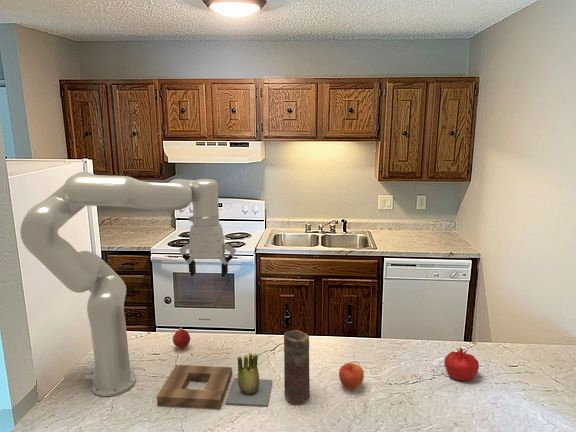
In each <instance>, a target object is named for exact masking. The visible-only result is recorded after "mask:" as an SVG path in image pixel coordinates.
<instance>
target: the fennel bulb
mask: <svg viewBox="0 0 576 432" xmlns="http://www.w3.org/2000/svg"><path fill="white" fill-rule="evenodd" d="M258 356H259V355H258V353H252V352H249V353H248V354H244V356H243V358H242V355H239V356H237V358H236V359H237V378H238V385H239V388H240V390H241V391H242V392H244V393H246V394H253V393H255V392H256V391H257V389H258V387H259V379H260V373H259V368H258Z"/></svg>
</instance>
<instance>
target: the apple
mask: <svg viewBox="0 0 576 432" xmlns="http://www.w3.org/2000/svg"><path fill="white" fill-rule="evenodd" d="M338 376H339V382H340V383H341V385H342V386H343V387H344V388H345V389H347V390H351V391H354V390H356V389H358V388H359V387H360V386H361V385H362V383H363V381H364V377H365V375H364V370H363V368H362V367H361V366H360V365H359V364H357V363H353V362H348V363H344V364H343V365H342V366H341V367H340V368H339V371H338Z"/></svg>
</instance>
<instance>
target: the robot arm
mask: <svg viewBox="0 0 576 432" xmlns="http://www.w3.org/2000/svg"><path fill="white" fill-rule="evenodd" d="M191 203H192V216H188V221H189V222H192V225H191V226H190V228H189V241H188V242H189V243H187V244H186V245H184V246H182V247H180V248H179V249H178V251H179V253H180V254H181V256H182V259H184V260H185V261H186V263H187V264H188V272H189V273H190V276H191V277H194V276H195V274H196V272H197V268H196V267H197V266H196V260H219V261H220V262H221V265H220V267H221V269H220V270H221V277H222V278H225V277H226V275H228V271H229V270H228V269H229V268H228V263H229V262H230V261H231V260H232V259H233V258H234V256H235V254H236V252H237V248H235V247H233V246H231V245H229V244H227V243H225V236H224V230H223V227H222V224H220V212H219V210H220V209H219V186H218V183H217V181H216V180H215V179H210V178H209V179H208V178H201V179H194V180H193V179H184V178H175V179H171V180H170V181H169V182H151V181H149V182H148V181H144V180H139V179H136V178H134V177H131V176H127V175H126V176H125V175H101V174H100V175H99V174H94V173H92V172H89V171H80V172H77V173H75V174H74V175H71V176H70V177H68V178H67V179H66V180H65V182H64V184H63V185H62V186H61V187H59V188H58V189H56V190H55V191H54V192H53V193H52V194H50V195H49V196H48V197H46V198H45V199H44V200H42V201H40V202H39V203H37V204H35V205H34V206H33V207H31V208H30V209H29V210H28V212H27V213H26V214H25V215H24V217H23V220H22V222H21V225H20V230H19V231H20V238H21V241H22V244H23V245H24V247H25V248H26V250H28V252H29V253H31V255H32V256H33V257H34V258H36V259H37V260H38V261H39V262H40V263H41V264H42V265H43V266H44V267H45V268H46V270H48V271H49V273H51V274H52V275H53V276H54V277H55V278H56V279H57V280H59V281H60V282H61V284H62V285H64V286H65V287H66V288H67V289H68V290H69V291H71V292H73V293H78V294H81V293H85V292H88V291H89V293H90V295H89V298H88V300H87V304H86V305H87V307H86V313H87V317H88V318H87V319H88V322H89V326H90V334H91V342H92V348H93V350H92V351H93V358H94V368H95V369H94V368H86V369H85V370H84V379H85V380H91V381H92V382H91V391H92V392H93V394H95V395H97V396H99V397H113V396H117V395H121V394H123V393H125V392H127V391H129V390H130V389H131V388H133V386H134V385H135V384H136V383H137V375H136V373H135V372H134V371H132V370H131V367H130V355H129V344H128V334H127V325H126V324H127V323H126V317H125V307H124V306H125V300H126V296H127V285H126V283H125V282H124V280H123V279H122V277H120V275H118V273H117V272H115V270H113V268H112V267H111V266H110V265H109V264H108V263H107V262H106V261H105V260H104V259H102V258H101V257H100V256H99V255H98V254H96V253H95V252H91V251H90V250H89V251H88V250H82V251H81V250H80V251H78V250H76V248H75V247H74V246H73V245H72V244H71V243H70V242H68V241H67V240H66V239H64V237H61V236H60V234H59V233H58V231H59V230H60V228H62V227H63V226H65V224H66V223H68V221H70V220H71V219H72V218H73V217H74V216H75V215H77V214H78V213H79V212H80V211H82V210H83V209H84V208H85V207H86V206H87V207H89V206H90V207H97V206H98V207H127V208H133V209H143V210H151V211H152V210H153V211H179V210H180V211H181V210H184V209H186V208H188V207H189V206H190V205H191ZM187 250H188V253H187ZM226 251H227V252H229V255H228V256H226V254H225V253H226Z"/></svg>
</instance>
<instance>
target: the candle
mask: <svg viewBox="0 0 576 432" xmlns="http://www.w3.org/2000/svg"><path fill="white" fill-rule="evenodd" d="M283 354H284V355H283V362H284V363H283V366H284V367H283V368H284V370H283V371H284V373H283V376H284V377H283V378H284V381H283V382H284V383H283V384H284V387H283V388H284V398H285V399H286V401H287V402H288V403H289V404H290V405H302V404H303V403H305V402H306V401H308V400H309V398H310V394H311V391H310V389H311V387H310V386H311V384H310V383H311V382H310V379H311V378H310V335H308V334H307V333H306V332H304V331H301V330H299V329H295V330H294V329H293V330H289V331H285V332H284V334H283Z"/></svg>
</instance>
